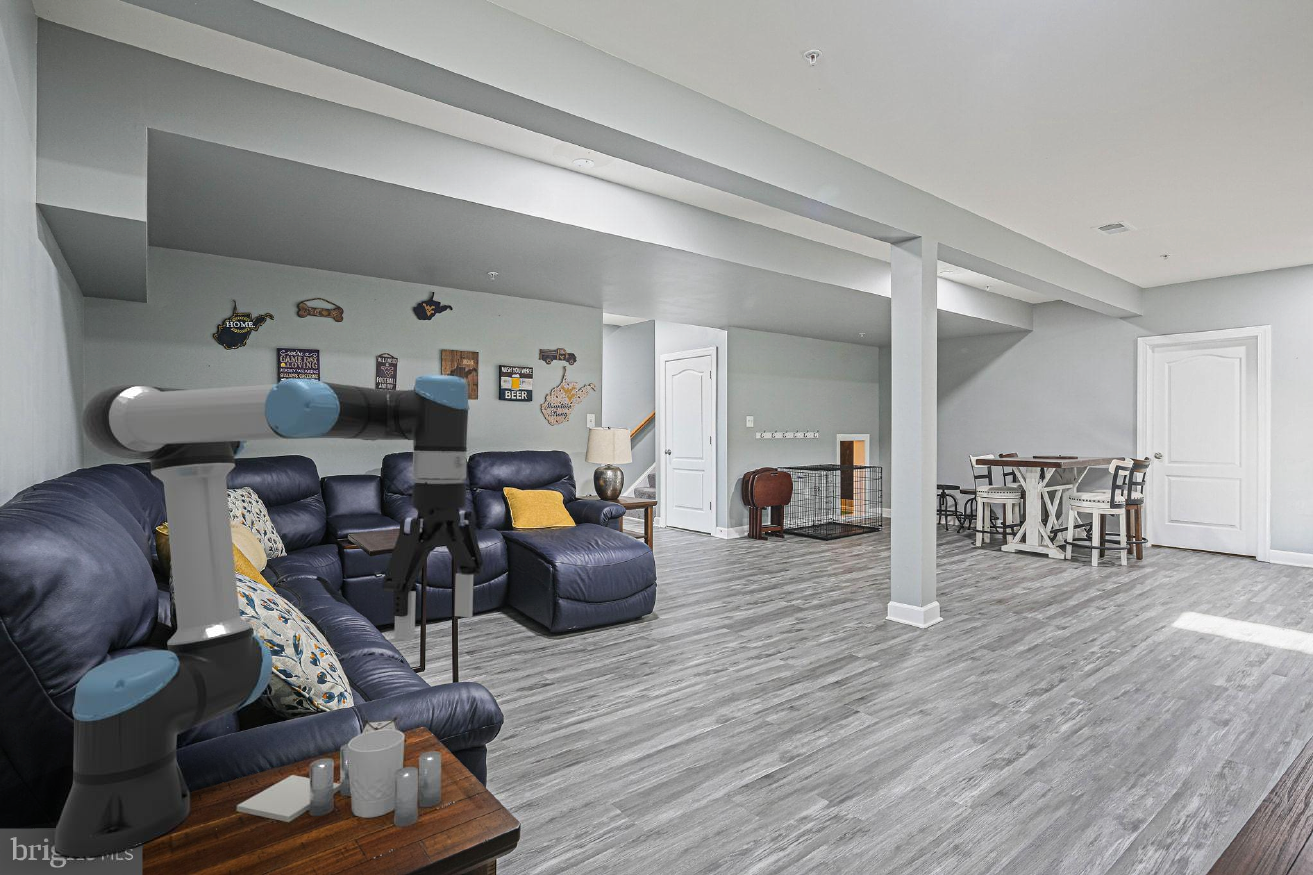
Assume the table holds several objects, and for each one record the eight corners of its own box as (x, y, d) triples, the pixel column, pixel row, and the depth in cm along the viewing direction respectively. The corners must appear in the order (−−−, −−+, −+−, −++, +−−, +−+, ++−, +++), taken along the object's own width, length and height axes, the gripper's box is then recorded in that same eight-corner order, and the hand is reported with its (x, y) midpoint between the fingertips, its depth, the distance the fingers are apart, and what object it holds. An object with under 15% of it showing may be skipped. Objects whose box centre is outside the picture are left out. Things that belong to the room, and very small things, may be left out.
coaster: (236, 810, 100) (236, 805, 100) (292, 779, 109) (292, 774, 109) (288, 822, 97) (288, 816, 97) (341, 789, 106) (341, 784, 106)
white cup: (383, 823, 96) (384, 753, 97) (335, 817, 98) (336, 748, 98) (414, 795, 104) (414, 731, 104) (369, 790, 106) (369, 727, 106)
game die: (366, 790, 113) (337, 738, 115) (412, 757, 119) (384, 708, 121) (373, 783, 107) (342, 728, 109) (421, 749, 112) (391, 697, 114)
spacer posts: (304, 814, 99) (304, 766, 99) (355, 781, 108) (355, 738, 109) (400, 834, 93) (401, 783, 94) (445, 798, 103) (445, 752, 103)
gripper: (403, 486, 85) (398, 654, 84) (507, 479, 108) (504, 610, 108) (355, 483, 87) (350, 647, 87) (467, 477, 111) (464, 605, 110)
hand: (435, 627), depth 97 cm, fingers open, 13 cm apart
